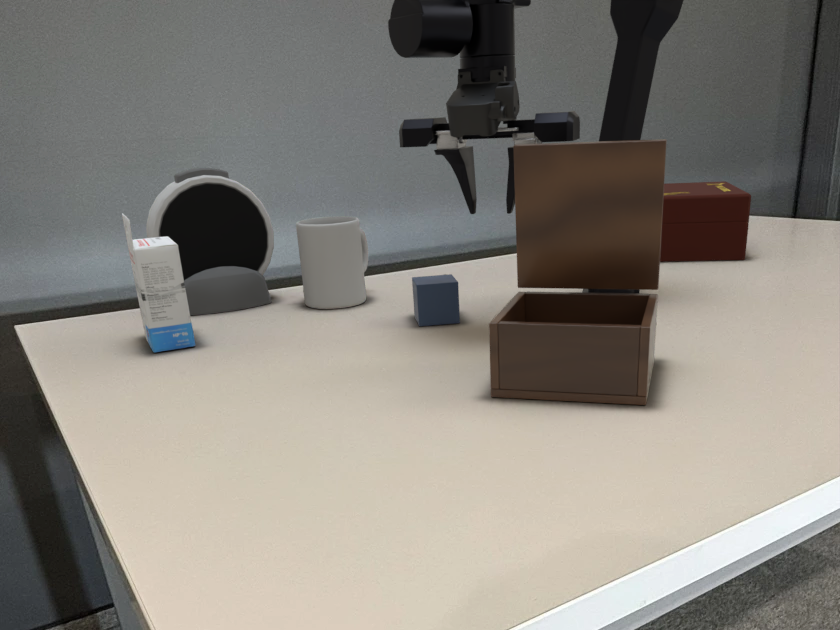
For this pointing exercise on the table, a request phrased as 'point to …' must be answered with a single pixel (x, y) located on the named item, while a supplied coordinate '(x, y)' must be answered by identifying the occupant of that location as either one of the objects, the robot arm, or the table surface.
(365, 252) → the mug
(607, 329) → the box
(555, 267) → the lid
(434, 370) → the table surface
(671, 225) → the box
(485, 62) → the robot arm
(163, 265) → the ink box
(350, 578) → the table surface
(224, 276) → the alarm clock
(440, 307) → the block
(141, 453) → the table surface
